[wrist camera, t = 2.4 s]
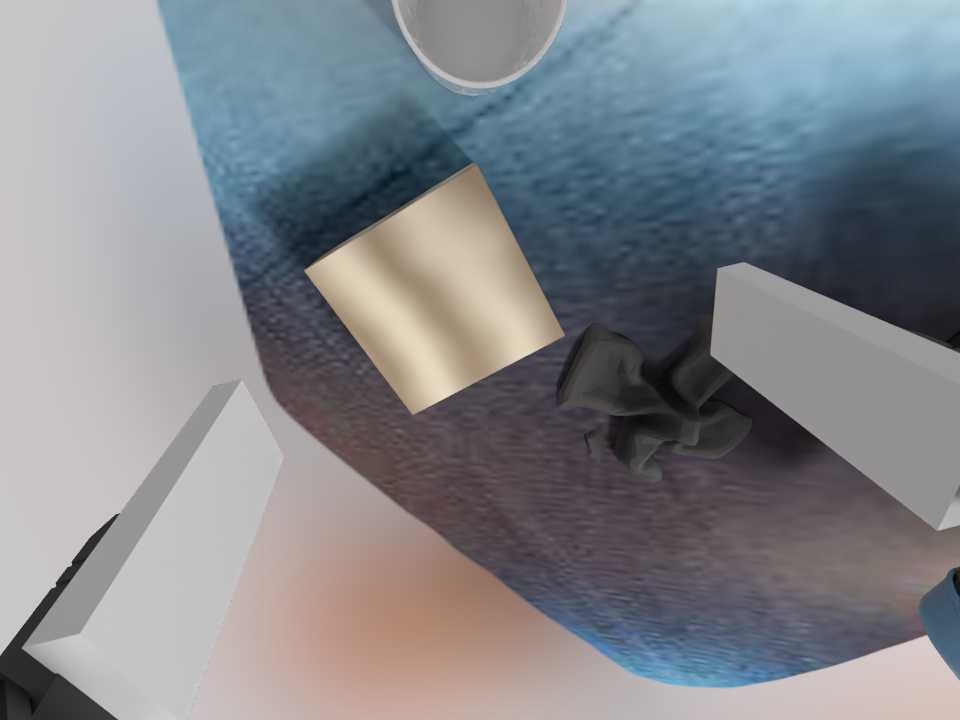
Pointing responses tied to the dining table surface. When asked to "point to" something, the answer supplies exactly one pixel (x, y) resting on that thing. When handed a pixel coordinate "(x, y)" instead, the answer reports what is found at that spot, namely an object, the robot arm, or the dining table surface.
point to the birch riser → (438, 292)
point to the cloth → (653, 400)
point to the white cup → (479, 39)
